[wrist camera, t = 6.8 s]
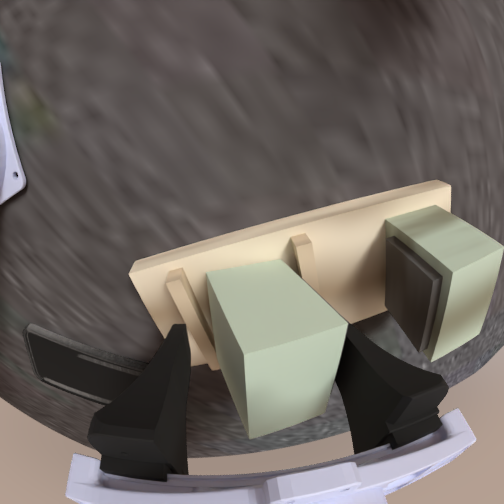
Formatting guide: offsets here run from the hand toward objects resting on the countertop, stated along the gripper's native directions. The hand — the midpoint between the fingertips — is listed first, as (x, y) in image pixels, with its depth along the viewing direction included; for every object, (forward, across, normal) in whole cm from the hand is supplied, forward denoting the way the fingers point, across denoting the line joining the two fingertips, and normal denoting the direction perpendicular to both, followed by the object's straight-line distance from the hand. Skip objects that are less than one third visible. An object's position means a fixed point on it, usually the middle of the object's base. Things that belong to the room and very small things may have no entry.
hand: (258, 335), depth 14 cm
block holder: (+4, -4, -1) cm, 6 cm away
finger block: (+2, 0, 0) cm, 2 cm away
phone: (+5, +13, +9) cm, 17 cm away
